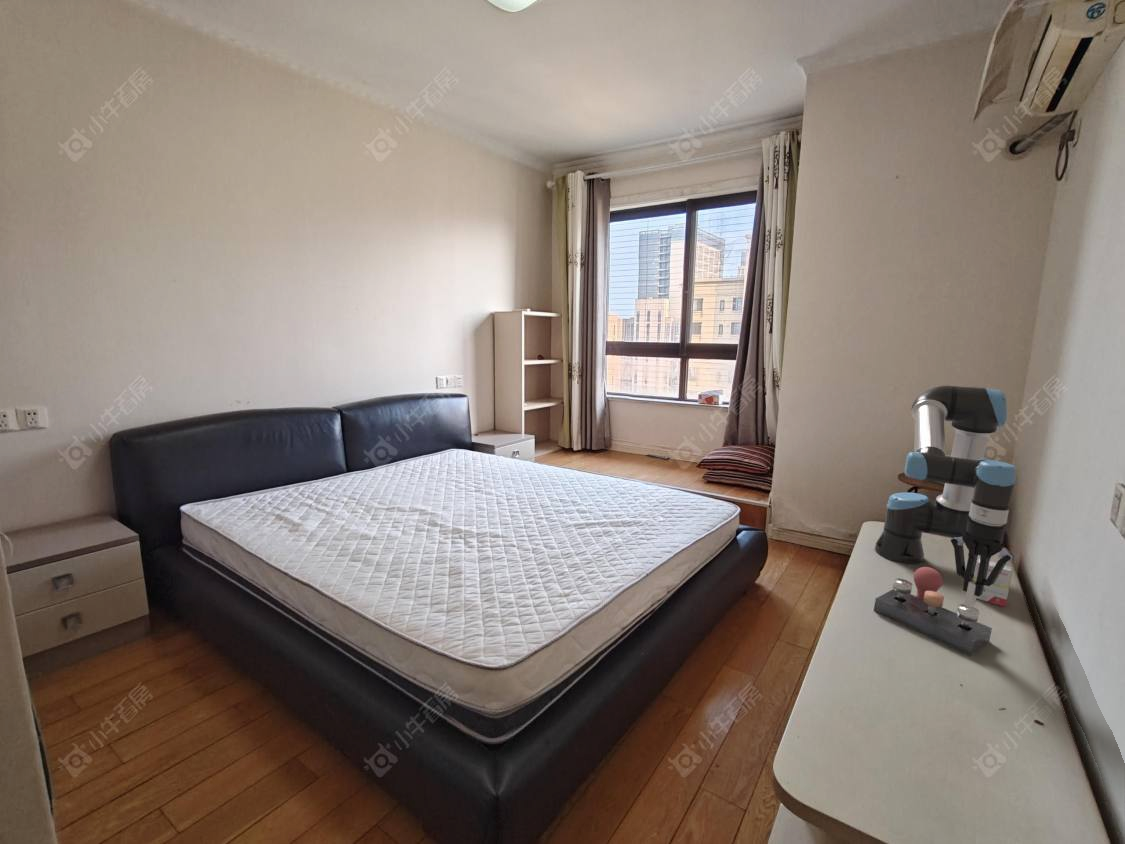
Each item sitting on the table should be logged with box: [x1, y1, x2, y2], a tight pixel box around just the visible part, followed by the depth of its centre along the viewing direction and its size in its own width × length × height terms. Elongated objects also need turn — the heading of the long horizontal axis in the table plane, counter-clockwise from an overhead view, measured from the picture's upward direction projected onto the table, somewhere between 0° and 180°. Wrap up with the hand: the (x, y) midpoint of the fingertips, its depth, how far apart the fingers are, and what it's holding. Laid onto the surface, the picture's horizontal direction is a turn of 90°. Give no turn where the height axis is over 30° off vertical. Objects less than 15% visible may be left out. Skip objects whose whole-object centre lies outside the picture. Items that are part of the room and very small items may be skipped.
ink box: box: [973, 557, 1014, 608], centre depth 157 cm, size 9×5×12 cm, turn 46°
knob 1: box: [892, 578, 913, 602], centre depth 149 cm, size 4×4×6 cm
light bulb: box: [912, 566, 943, 600], centre depth 153 cm, size 7×7×12 cm
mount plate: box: [873, 588, 993, 657], centre depth 143 cm, size 12×24×4 cm, turn 32°
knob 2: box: [923, 591, 945, 616], centre depth 142 cm, size 4×4×6 cm
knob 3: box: [956, 603, 980, 631], centre depth 136 cm, size 4×4×6 cm
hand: (969, 604), depth 135 cm, fingers closed
